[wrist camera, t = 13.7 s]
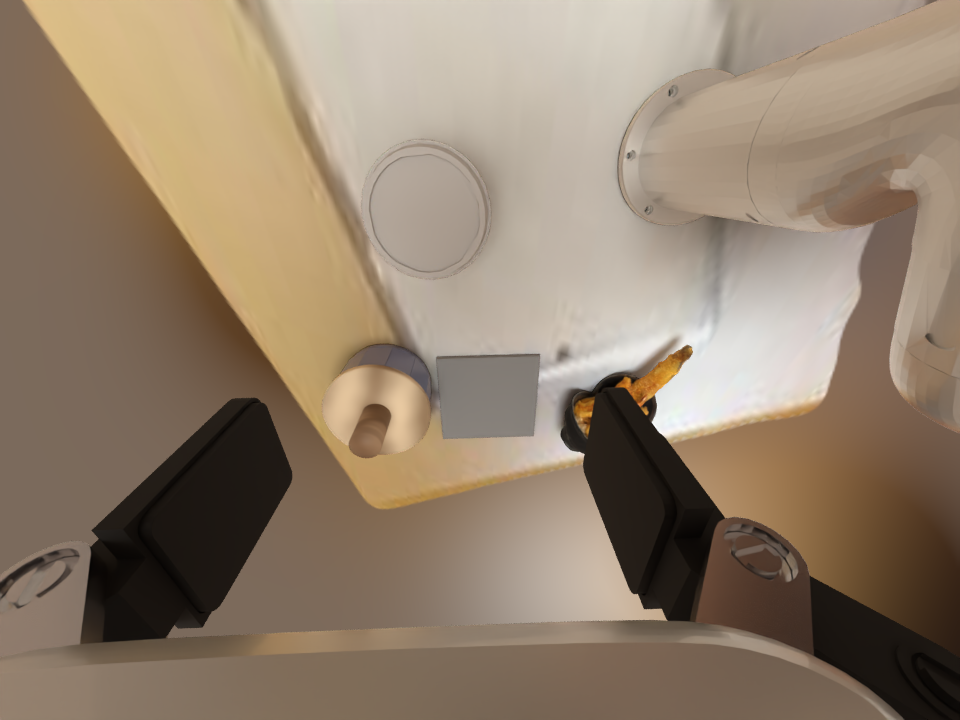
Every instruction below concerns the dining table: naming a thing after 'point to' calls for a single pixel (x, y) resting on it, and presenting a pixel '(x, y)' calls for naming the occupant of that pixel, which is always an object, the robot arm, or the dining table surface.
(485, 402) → the mat
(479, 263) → the dining table surface
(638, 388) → the black dish with food
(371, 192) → the disposable coffee cup
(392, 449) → the lid
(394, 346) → the bowl
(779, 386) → the dining table surface
